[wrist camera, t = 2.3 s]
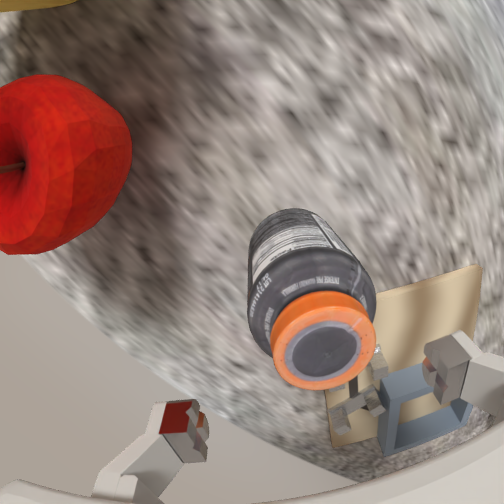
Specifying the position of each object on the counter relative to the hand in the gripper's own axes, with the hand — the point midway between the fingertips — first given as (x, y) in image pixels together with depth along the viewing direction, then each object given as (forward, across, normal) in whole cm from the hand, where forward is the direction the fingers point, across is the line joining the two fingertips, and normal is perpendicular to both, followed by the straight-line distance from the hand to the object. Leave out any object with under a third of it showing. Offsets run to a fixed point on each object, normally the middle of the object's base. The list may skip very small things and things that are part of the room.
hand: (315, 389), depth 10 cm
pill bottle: (+13, -1, 0) cm, 13 cm away
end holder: (+12, -12, +18) cm, 24 cm away
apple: (+13, +10, -10) cm, 19 cm away
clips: (+12, -4, +13) cm, 18 cm away
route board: (+12, -9, +14) cm, 21 cm away
